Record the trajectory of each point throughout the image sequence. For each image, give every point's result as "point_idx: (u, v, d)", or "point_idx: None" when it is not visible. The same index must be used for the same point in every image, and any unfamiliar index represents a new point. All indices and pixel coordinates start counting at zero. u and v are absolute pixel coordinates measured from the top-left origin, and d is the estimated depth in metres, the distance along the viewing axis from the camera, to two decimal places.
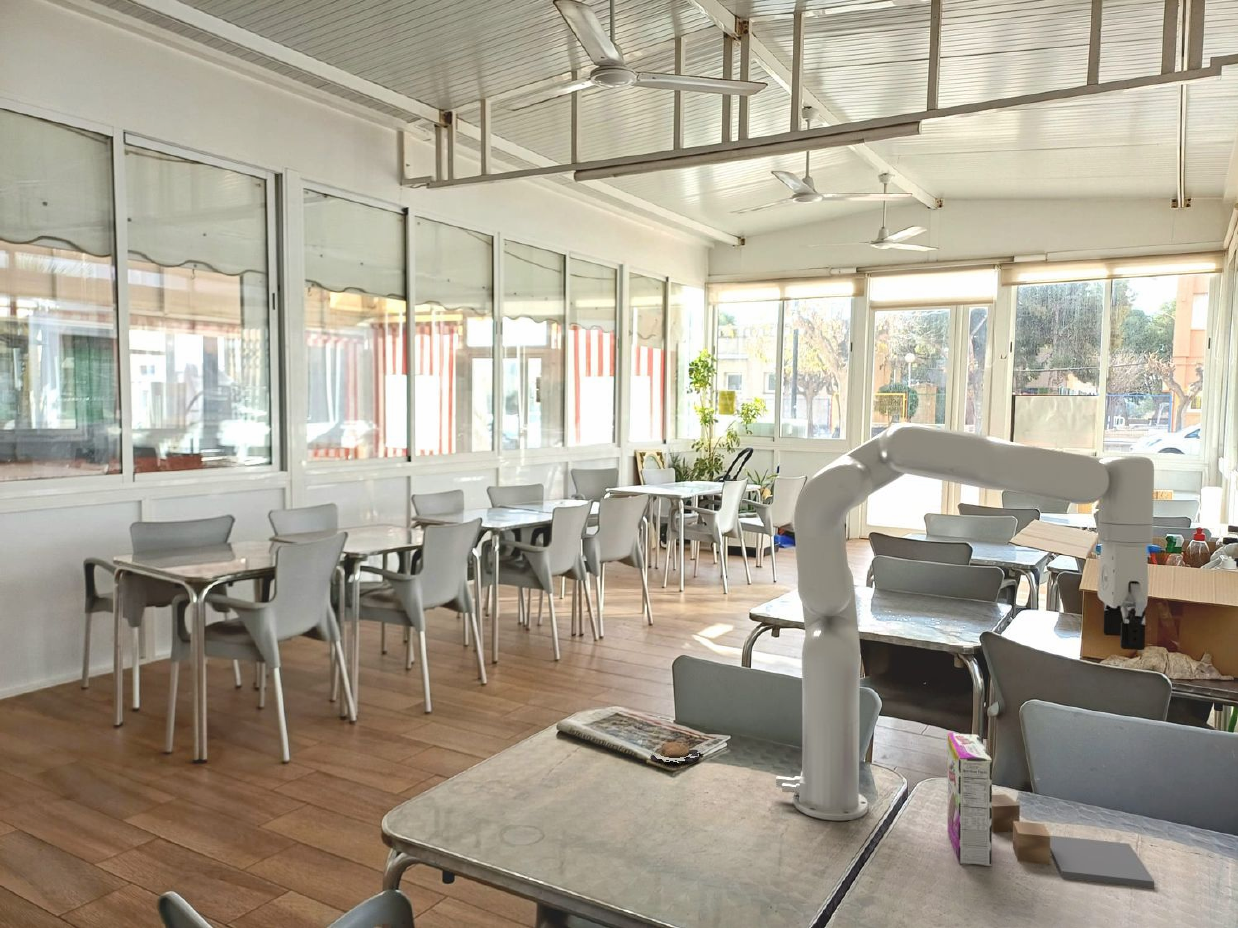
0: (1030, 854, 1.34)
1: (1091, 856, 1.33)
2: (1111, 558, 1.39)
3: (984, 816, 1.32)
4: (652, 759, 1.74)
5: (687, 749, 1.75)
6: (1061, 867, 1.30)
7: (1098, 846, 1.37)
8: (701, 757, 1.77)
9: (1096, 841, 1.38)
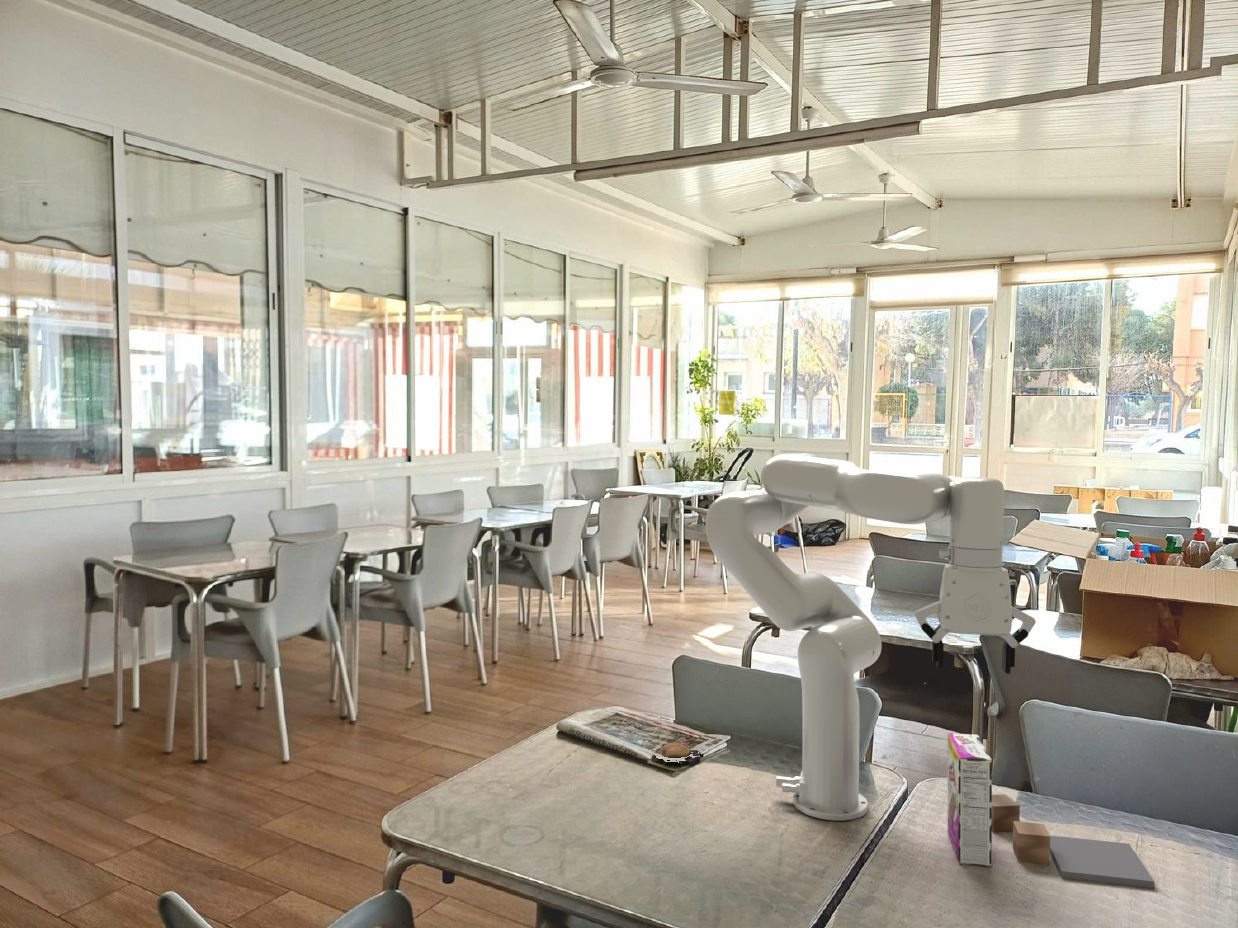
0: (1030, 854, 1.34)
1: (1091, 856, 1.33)
2: (998, 585, 1.33)
3: (984, 816, 1.32)
4: (653, 760, 1.74)
5: (688, 749, 1.75)
6: (1061, 867, 1.30)
7: (1098, 846, 1.37)
8: None
9: (1096, 841, 1.38)
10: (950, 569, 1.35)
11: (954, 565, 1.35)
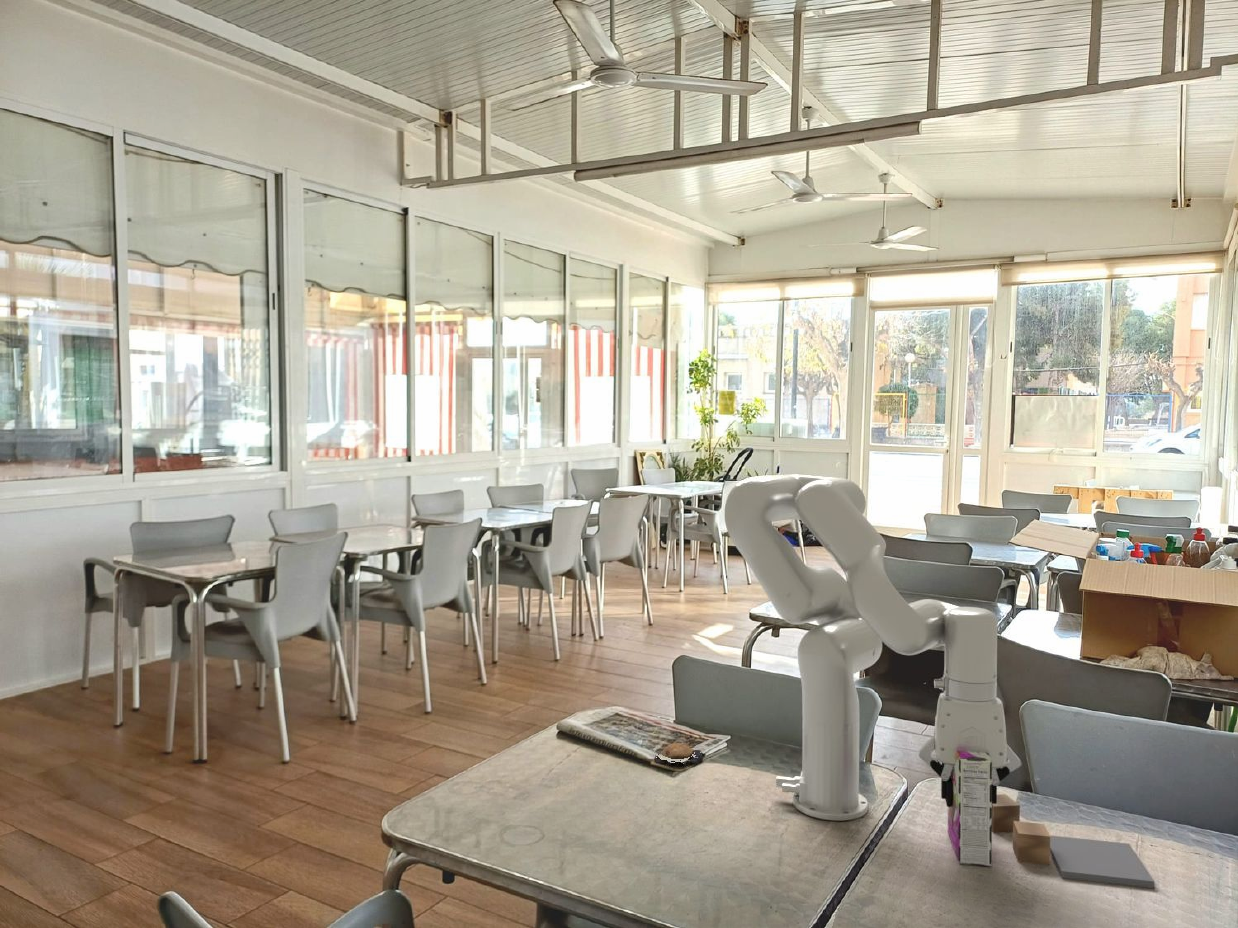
0: (1030, 854, 1.34)
1: (1091, 856, 1.33)
2: (992, 718, 1.34)
3: (984, 816, 1.32)
4: (656, 761, 1.74)
5: (690, 750, 1.75)
6: (1061, 867, 1.30)
7: (1098, 846, 1.37)
8: (704, 757, 1.77)
9: (1096, 841, 1.38)
10: (944, 701, 1.36)
11: (949, 697, 1.36)
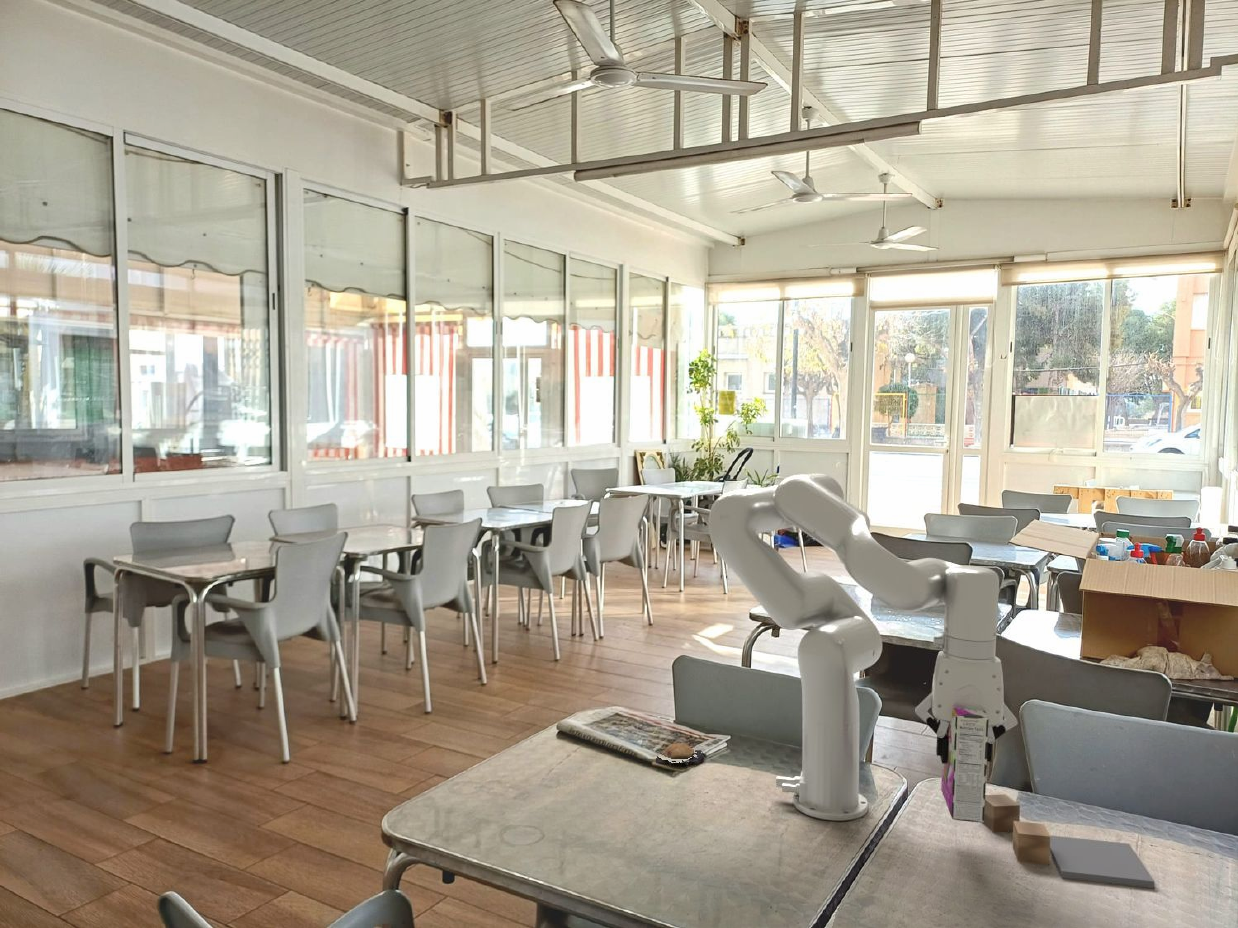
0: (1030, 854, 1.34)
1: (1091, 856, 1.33)
2: (990, 676, 1.34)
3: (978, 773, 1.32)
4: (658, 761, 1.73)
5: (692, 750, 1.75)
6: (1061, 867, 1.30)
7: (1098, 846, 1.37)
8: None
9: (1096, 841, 1.38)
10: (943, 658, 1.36)
11: (947, 654, 1.36)
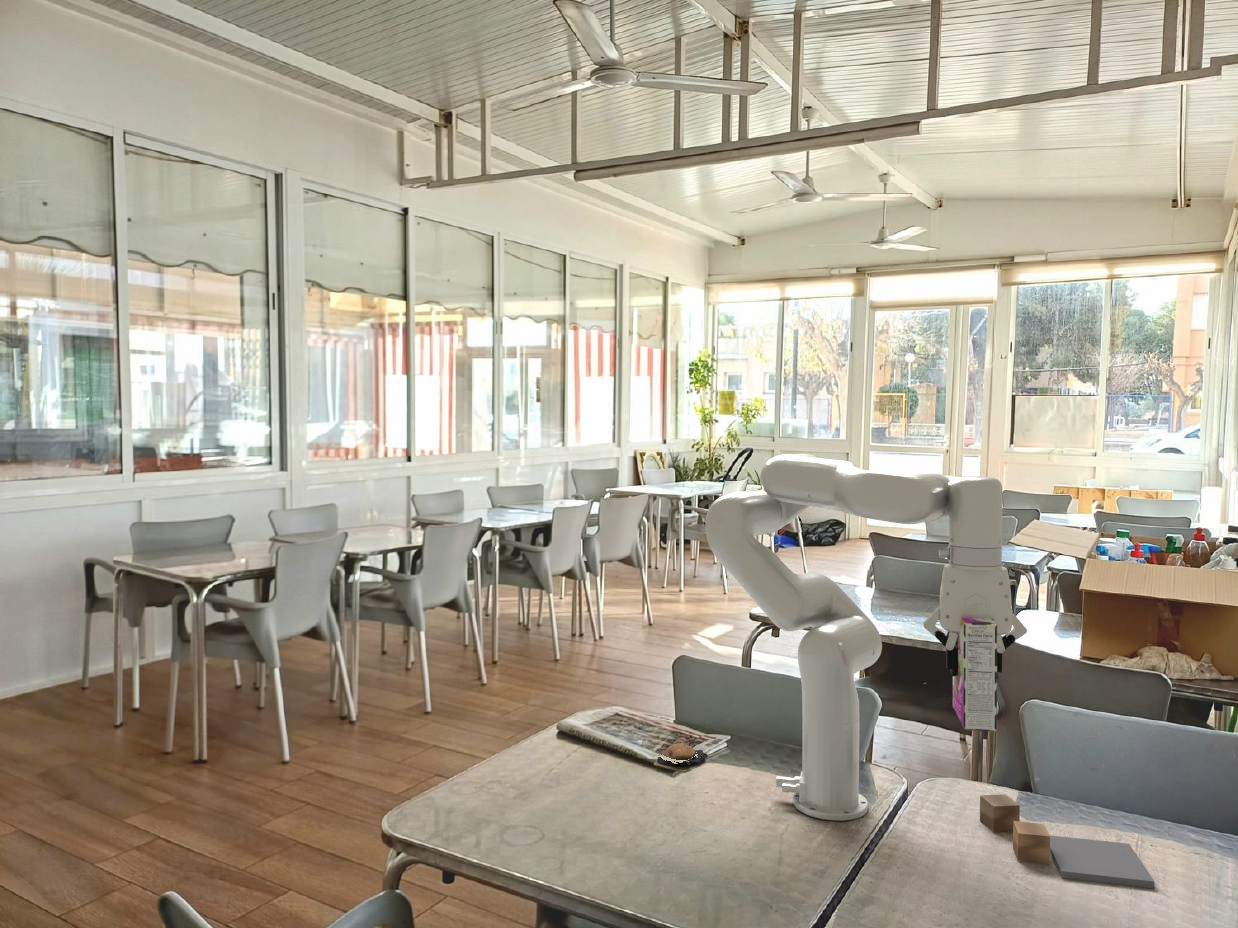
0: (1030, 854, 1.34)
1: (1091, 856, 1.33)
2: (997, 584, 1.33)
3: (989, 680, 1.31)
4: (659, 762, 1.73)
5: (693, 750, 1.75)
6: (1061, 867, 1.30)
7: (1098, 846, 1.37)
8: None
9: (1096, 841, 1.38)
10: (949, 568, 1.35)
11: (953, 565, 1.35)
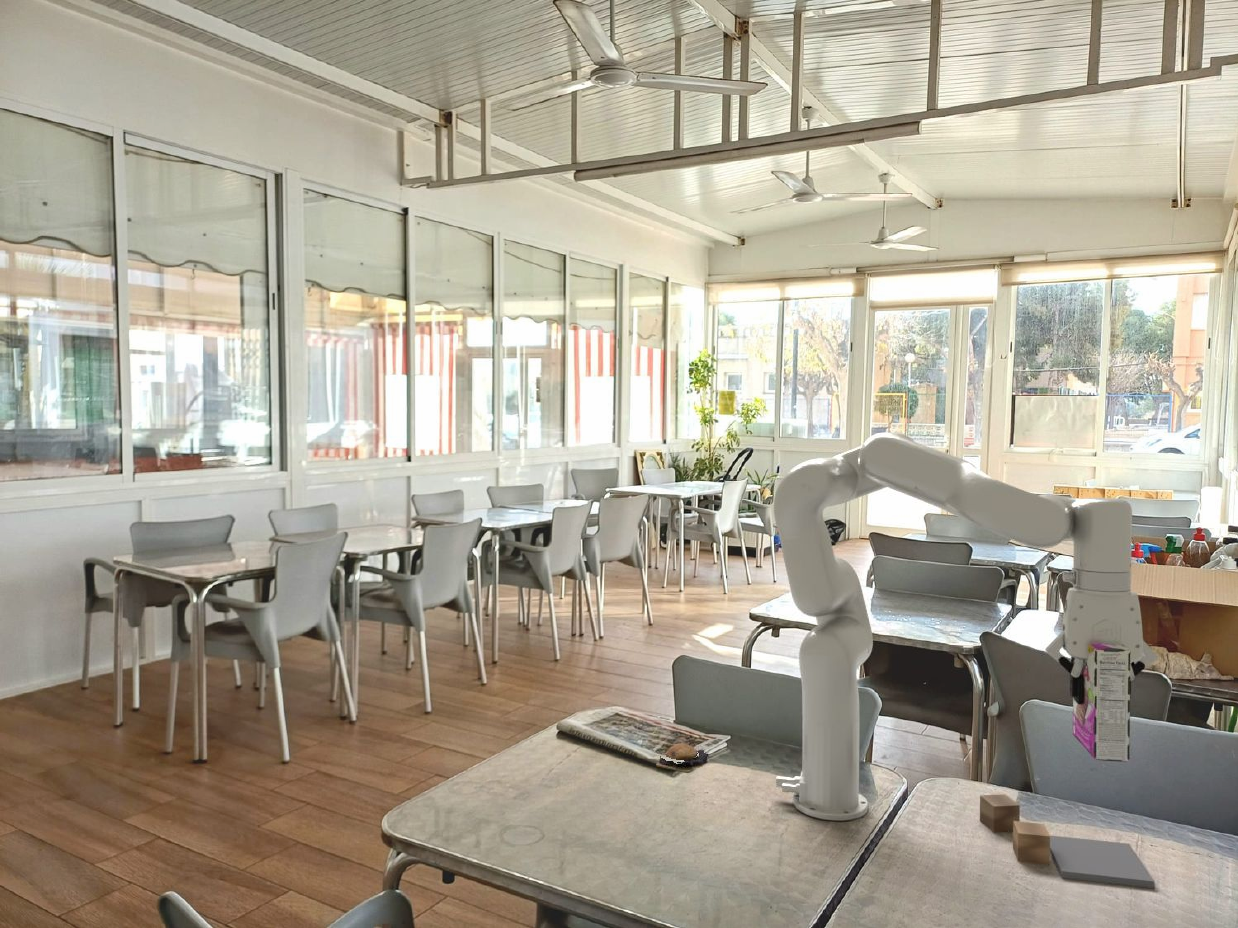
0: (1030, 854, 1.34)
1: (1091, 856, 1.33)
2: (1128, 609, 1.29)
3: (1122, 709, 1.27)
4: (662, 762, 1.73)
5: (695, 750, 1.75)
6: (1061, 867, 1.30)
7: (1098, 846, 1.37)
8: None
9: (1096, 841, 1.38)
10: (1076, 593, 1.31)
11: (1081, 589, 1.31)
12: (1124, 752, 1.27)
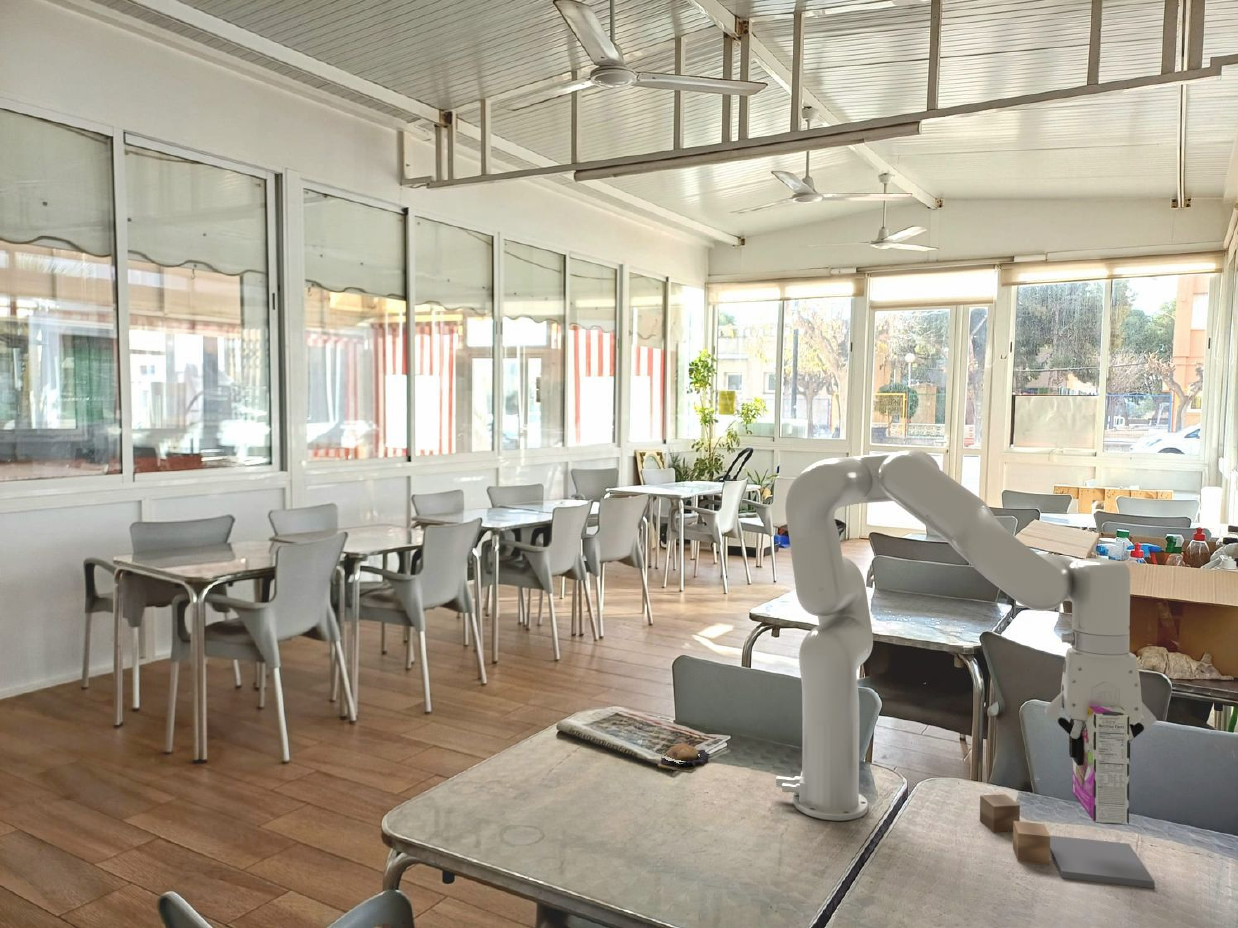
0: (1030, 854, 1.34)
1: (1091, 856, 1.33)
2: (1127, 672, 1.29)
3: (1121, 772, 1.27)
4: (664, 763, 1.73)
5: (696, 750, 1.75)
6: (1061, 867, 1.30)
7: (1098, 846, 1.37)
8: None
9: (1096, 841, 1.38)
10: (1075, 655, 1.31)
11: (1079, 651, 1.31)
12: (1124, 815, 1.27)
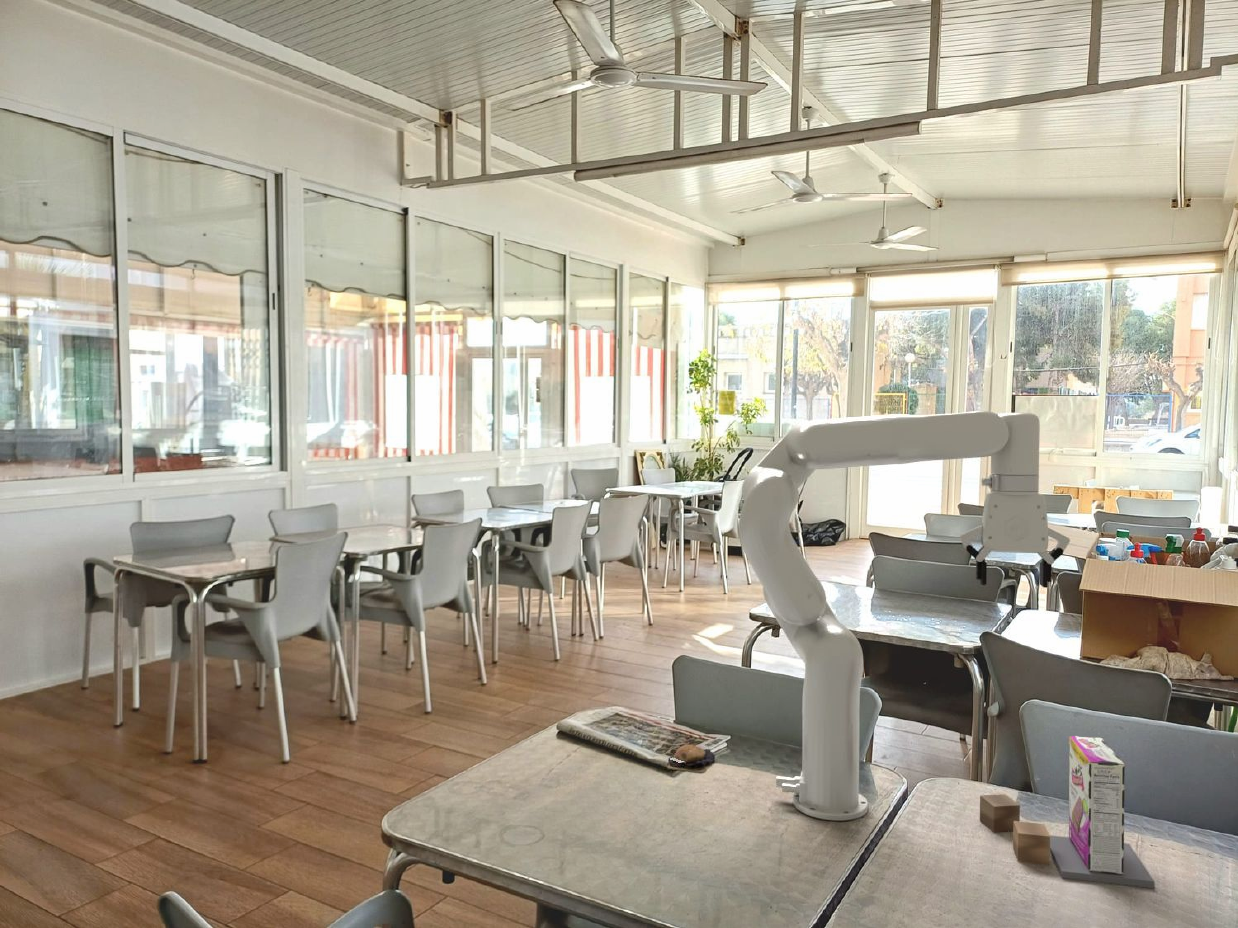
0: (1030, 854, 1.34)
1: None
2: (1035, 507, 1.49)
3: (1116, 822, 1.27)
4: (673, 765, 1.72)
5: (702, 750, 1.75)
6: (1061, 867, 1.30)
7: None
8: None
9: None
10: (992, 494, 1.51)
11: (995, 491, 1.51)
12: (1118, 865, 1.28)
